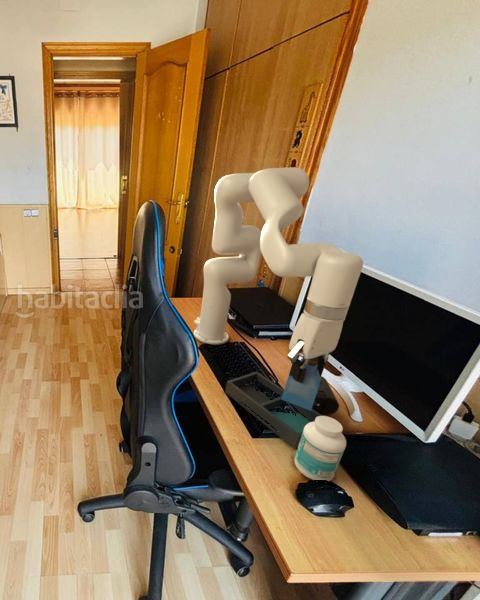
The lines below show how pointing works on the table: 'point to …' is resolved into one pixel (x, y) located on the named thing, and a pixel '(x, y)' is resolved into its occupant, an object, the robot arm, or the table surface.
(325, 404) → the dark brown rock
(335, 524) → the table surface
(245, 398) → the rack
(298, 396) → the perfume bottle
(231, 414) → the table surface
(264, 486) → the table surface
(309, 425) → the pill bottle
